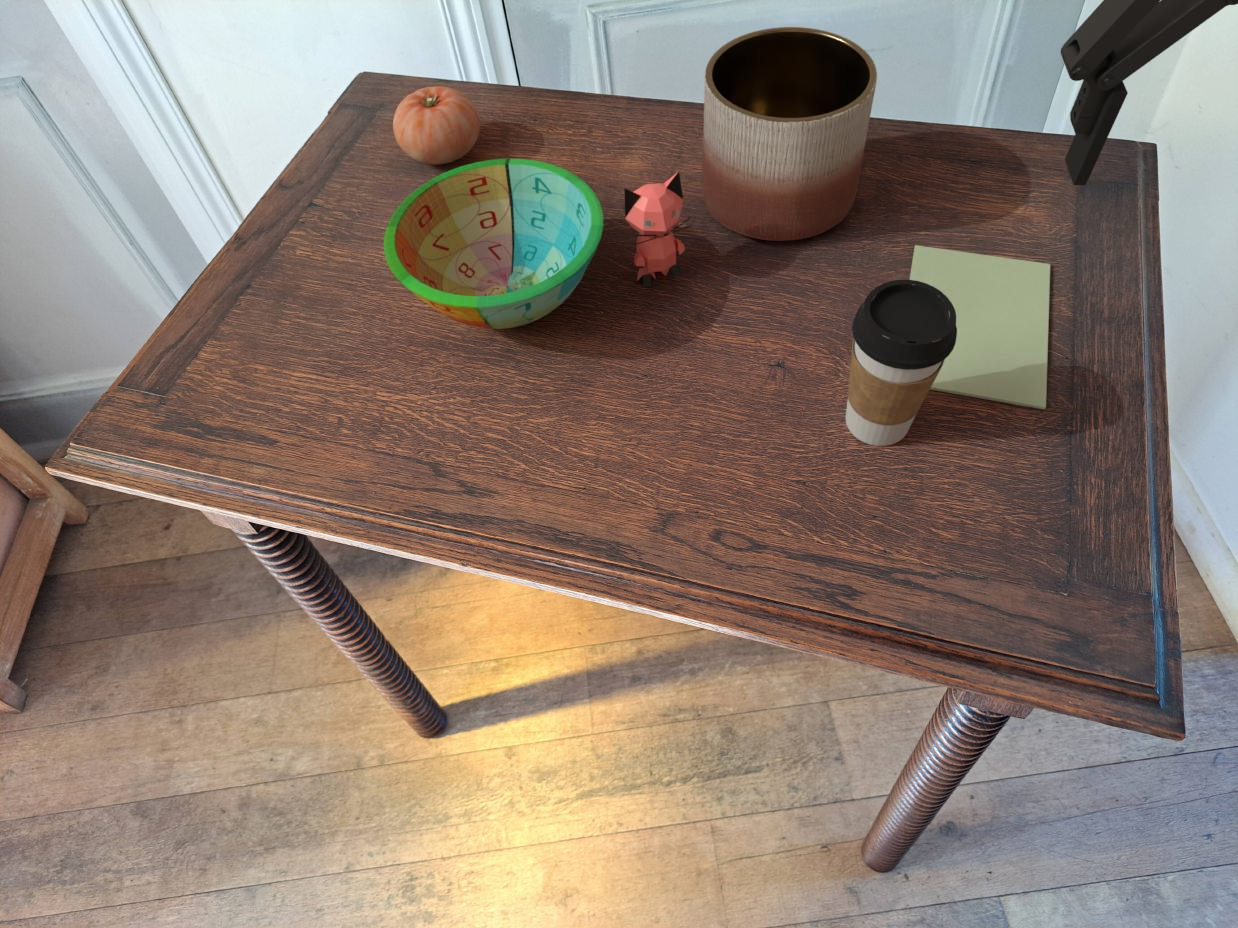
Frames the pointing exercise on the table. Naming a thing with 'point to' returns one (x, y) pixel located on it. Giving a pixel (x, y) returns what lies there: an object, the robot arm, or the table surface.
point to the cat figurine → (656, 227)
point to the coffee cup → (896, 357)
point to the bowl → (495, 241)
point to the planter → (785, 131)
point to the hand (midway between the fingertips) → (1184, 172)
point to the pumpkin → (436, 125)
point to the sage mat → (992, 324)
